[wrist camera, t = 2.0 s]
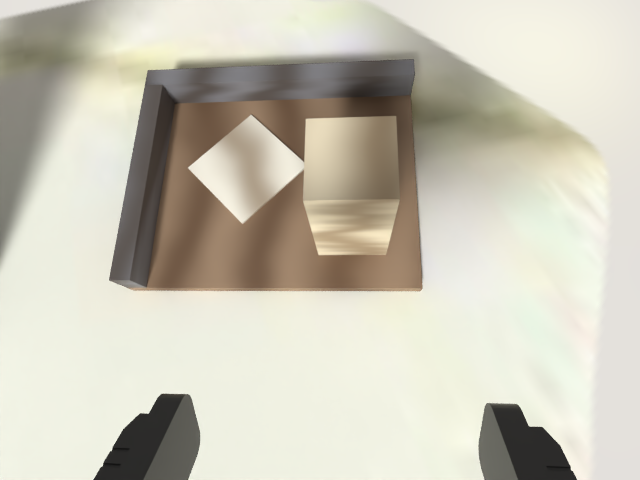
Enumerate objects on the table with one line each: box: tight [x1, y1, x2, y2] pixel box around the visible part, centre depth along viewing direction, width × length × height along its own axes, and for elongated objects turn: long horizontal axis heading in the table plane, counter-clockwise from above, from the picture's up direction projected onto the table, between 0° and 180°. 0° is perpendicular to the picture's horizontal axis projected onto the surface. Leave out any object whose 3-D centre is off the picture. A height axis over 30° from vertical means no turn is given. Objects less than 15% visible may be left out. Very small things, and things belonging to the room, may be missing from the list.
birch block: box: [303, 116, 400, 255], centre depth 27 cm, size 5×5×10 cm
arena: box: [109, 59, 422, 291], centre depth 33 cm, size 22×18×4 cm
